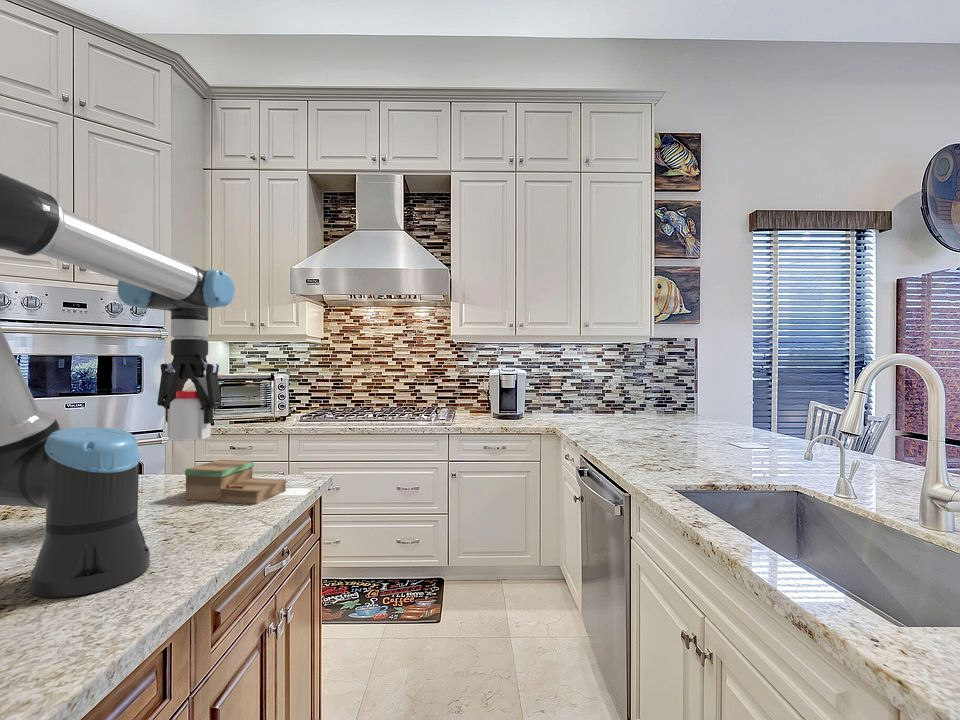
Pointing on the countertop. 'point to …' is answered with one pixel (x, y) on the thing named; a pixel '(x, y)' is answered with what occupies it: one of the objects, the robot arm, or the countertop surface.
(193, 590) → the countertop surface
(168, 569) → the countertop surface
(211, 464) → the stand
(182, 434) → the pill bottle
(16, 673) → the countertop surface
